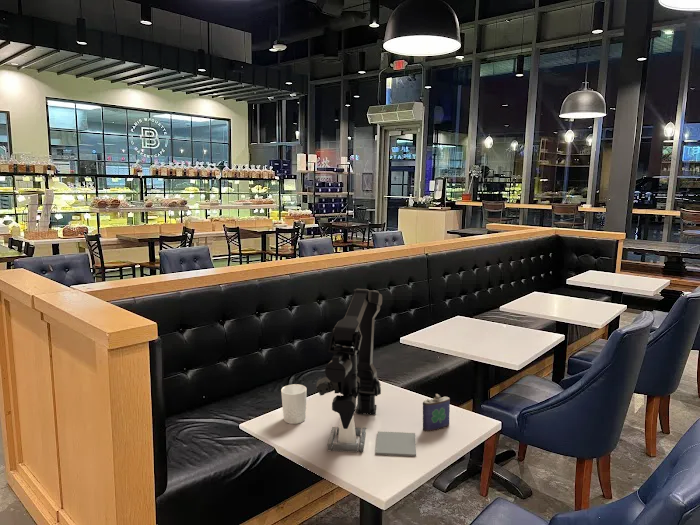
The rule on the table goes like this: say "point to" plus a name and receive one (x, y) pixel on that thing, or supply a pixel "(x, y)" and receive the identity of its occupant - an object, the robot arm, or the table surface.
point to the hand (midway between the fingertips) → (347, 420)
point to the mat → (396, 444)
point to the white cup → (294, 403)
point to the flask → (436, 413)
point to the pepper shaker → (347, 433)
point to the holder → (346, 445)
